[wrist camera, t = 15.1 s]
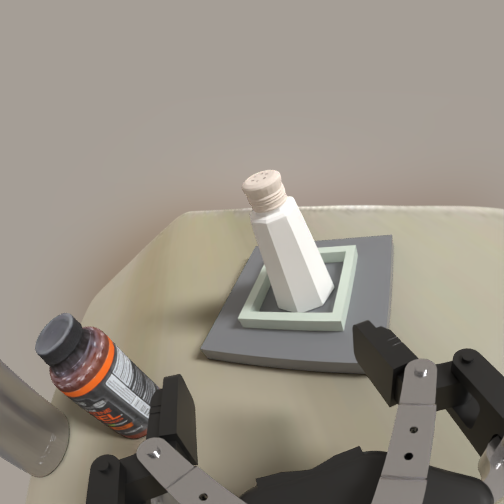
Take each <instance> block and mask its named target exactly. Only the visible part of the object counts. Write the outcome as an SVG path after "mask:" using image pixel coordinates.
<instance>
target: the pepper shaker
mask: <svg viewBox="0 0 504 504" xmlns="http://www.w3.org/2000/svg"><path fill="white" fill-rule="evenodd" d="M242 190H243V192H244V193H245V194H246V195H247V199H248V201H249V203H250V205H251V206H252V209H253V210H252V211H251V212H250V219H251V223H252V227H253V231H254V234H255V237H256V240H257V243H258V246H259V249H260V252H261V255H262V258H263V261H264V265H265V268H266V271H267V274H268V277H269V280H270V283H271V286H272V289H273V292H274V295H275V299H276V302H277V305H278V308H280V309H283V310H287V311H290V312H298V313H304V312H307V311H310V310H313V309H315V308H318V307H321V306H323V304H324V303H325V301H326V300H327V298H328V297H329V295H330V294H331V292H332V291H333V289H334V285H333V282H332V280H331V278H330V275H329V273H328V271H327V268H326V266H325V264H324V262H323V259H322V257H321V255H320V253H319V251H318V248H317V246H316V244H315V242H314V240H313V237H312V235H311V233H310V231H309V229H308V227H307V224H306V222H305V220H304V218H303V216H302V214H301V212H300V210H299V208H298V206H297V204H296V202H295V200H294V199H293V197H287V195H286V194H285V189H284V186H283V183H281V175H280V173H279V172H278V171H276V170H265V171H261V172H258V173H256V174H254V175H252V176H250V177H249V178H248V179H246V181H244V183H243V184H242Z"/></svg>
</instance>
